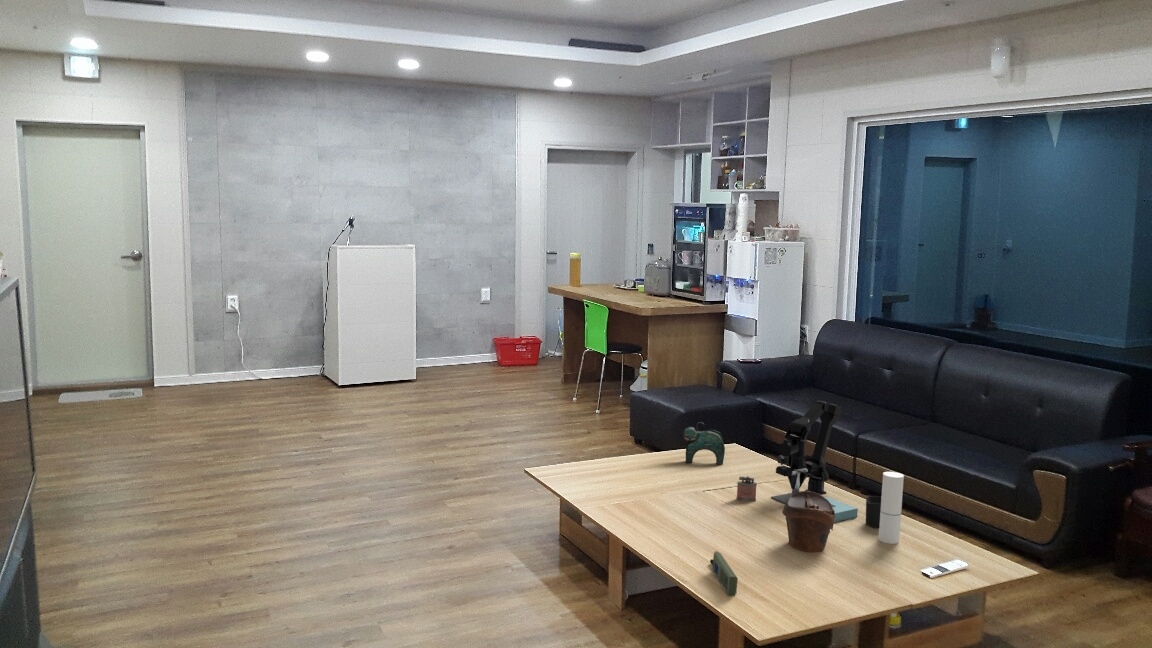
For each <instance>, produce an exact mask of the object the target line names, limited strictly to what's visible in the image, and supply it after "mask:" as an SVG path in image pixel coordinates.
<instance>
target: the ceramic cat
mask: <svg viewBox="0 0 1152 648" xmlns="http://www.w3.org/2000/svg"><path fill="white" fill-rule="evenodd" d="M698 424H703V425H705V423H704V422H702V421H701V422H700V421H699V422H697V424H696V425H698ZM682 433H683V434H682V437H683V439H684V440H685V441H686V442H687V443H686V444H685V445H686V446H685V464H692V463H693V462H694V457H695V454H696V453H697V452H700V451H702V450H703V451H705V450H706V451H710V452H712V453H713V454H714V456H715V463H716V465H717V466H723V465H724V459H725V453H726V447H725V444H724V441H723V440H724V437H723V435H722V433H721V432H720V431H717V429H716V430H715V429H707V430H703V431H701V430H699V429H698V428H695V427H692V426H688V425H687V426H685V429H684V431H683V432H682Z"/></svg>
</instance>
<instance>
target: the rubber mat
mask: <svg viewBox="0 0 1152 648" xmlns="http://www.w3.org/2000/svg"><path fill="white" fill-rule="evenodd" d="M790 496H792V492H789V493H783V494H778V495H774V496H770V499H772V500H775V501H777V502H780V503H782V504H784V505H785V504H786V502H787V500H788V499H789V497H790Z"/></svg>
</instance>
